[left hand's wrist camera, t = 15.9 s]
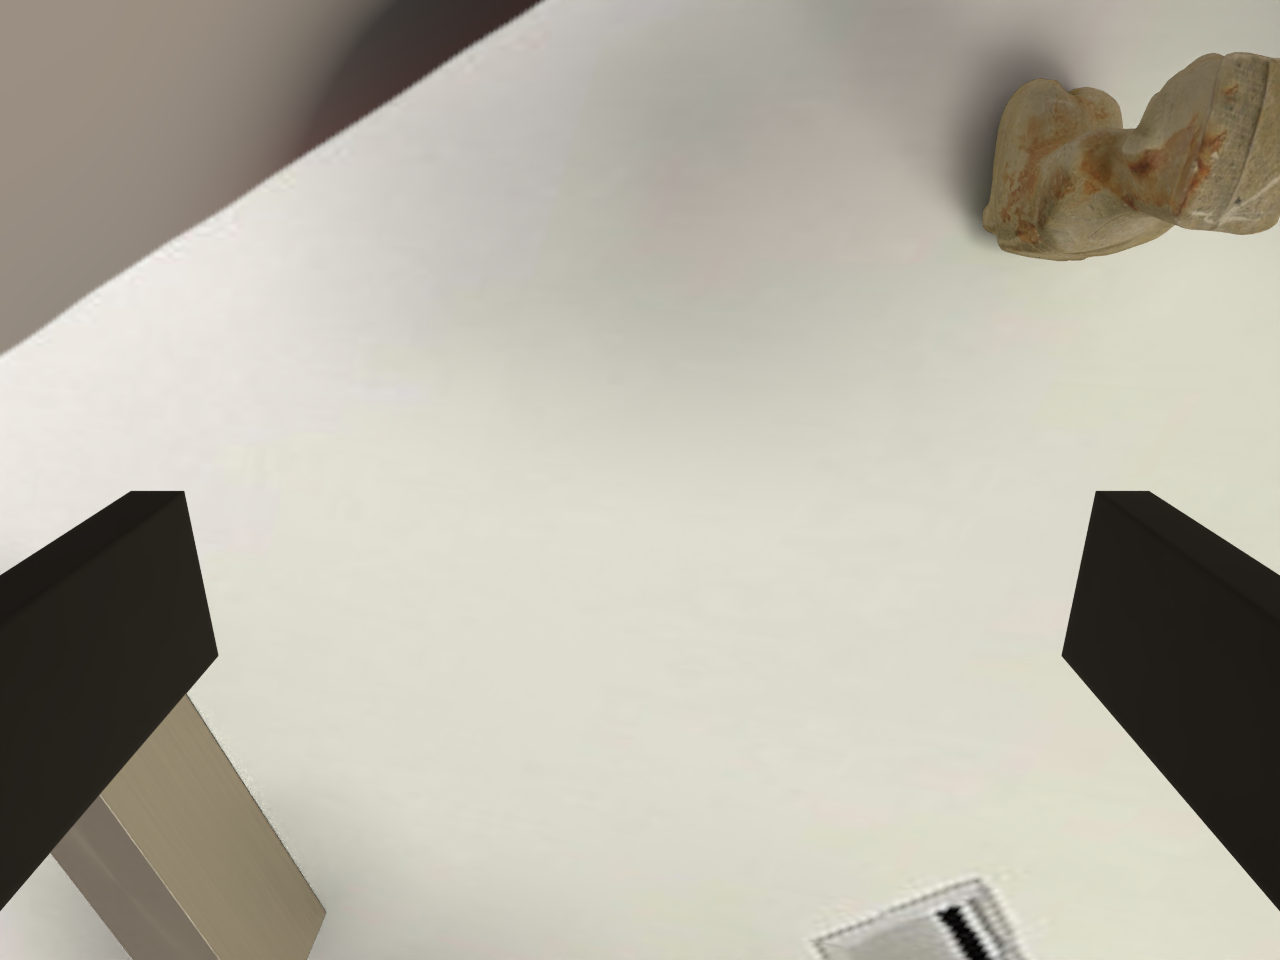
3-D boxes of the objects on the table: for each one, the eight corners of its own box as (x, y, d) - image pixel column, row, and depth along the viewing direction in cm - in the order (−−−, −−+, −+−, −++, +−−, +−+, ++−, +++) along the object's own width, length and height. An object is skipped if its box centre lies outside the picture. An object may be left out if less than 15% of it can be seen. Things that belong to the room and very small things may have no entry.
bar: (53, 617, 47) (-63, 707, 39) (122, 594, 46) (18, 681, 39) (266, 929, 55) (205, 1055, 48) (326, 913, 55) (275, 1036, 47)
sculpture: (1118, 99, 37) (1405, 61, 23) (1061, 261, 40) (1289, 315, 26) (993, 73, 37) (1209, 18, 23) (944, 239, 40) (1110, 281, 26)
